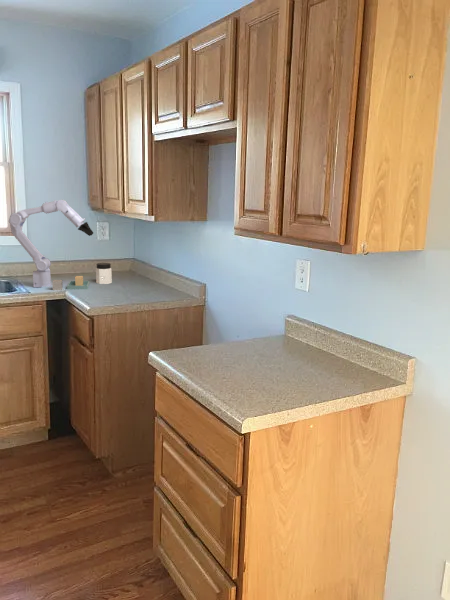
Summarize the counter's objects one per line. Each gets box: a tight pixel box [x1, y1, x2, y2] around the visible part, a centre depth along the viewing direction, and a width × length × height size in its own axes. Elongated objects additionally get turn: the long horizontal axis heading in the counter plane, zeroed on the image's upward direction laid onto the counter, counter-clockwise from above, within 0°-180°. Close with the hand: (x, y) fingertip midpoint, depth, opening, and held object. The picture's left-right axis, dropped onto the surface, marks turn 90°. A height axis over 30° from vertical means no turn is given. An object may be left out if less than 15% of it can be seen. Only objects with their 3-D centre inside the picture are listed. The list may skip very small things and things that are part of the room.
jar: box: [95, 262, 113, 285], centre depth 307 cm, size 9×8×12 cm
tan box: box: [74, 275, 84, 286], centre depth 298 cm, size 4×4×5 cm
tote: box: [66, 280, 91, 290], centre depth 294 cm, size 11×15×2 cm
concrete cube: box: [51, 279, 64, 291], centre depth 285 cm, size 5×5×6 cm
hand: (91, 234), depth 293 cm, fingers open, 7 cm apart
